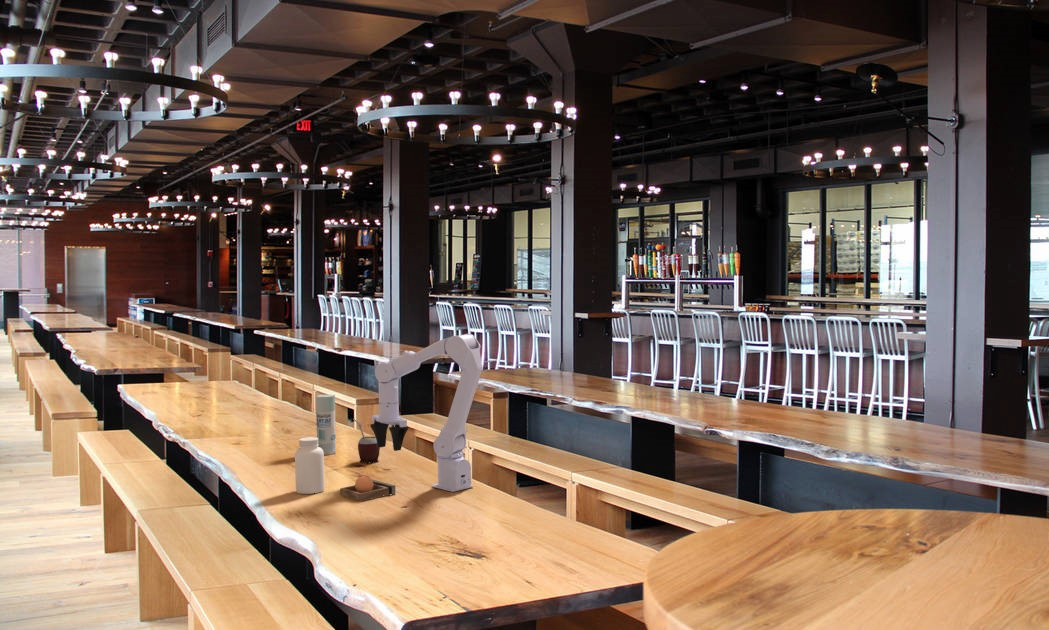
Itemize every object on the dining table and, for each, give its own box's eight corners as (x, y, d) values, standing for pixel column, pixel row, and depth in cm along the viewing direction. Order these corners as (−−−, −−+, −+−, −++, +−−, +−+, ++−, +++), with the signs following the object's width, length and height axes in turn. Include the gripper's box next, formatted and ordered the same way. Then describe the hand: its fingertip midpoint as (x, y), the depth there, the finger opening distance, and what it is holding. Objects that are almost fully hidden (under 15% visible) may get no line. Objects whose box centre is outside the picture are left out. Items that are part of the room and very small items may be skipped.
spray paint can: (339, 451, 302) (338, 394, 301) (331, 455, 296) (330, 397, 295) (321, 451, 303) (320, 394, 303) (313, 455, 297) (312, 396, 296)
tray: (389, 494, 241) (389, 487, 241) (360, 501, 234) (360, 494, 234) (368, 489, 247) (368, 482, 247) (340, 495, 241) (340, 488, 240)
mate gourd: (382, 459, 288) (381, 414, 287) (376, 465, 280) (375, 418, 279) (360, 459, 289) (359, 414, 288) (353, 464, 281) (352, 418, 280)
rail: (395, 494, 241) (395, 485, 241) (391, 495, 240) (391, 486, 240) (370, 487, 250) (369, 478, 250) (366, 488, 249) (366, 479, 249)
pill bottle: (289, 493, 244) (288, 440, 243) (306, 487, 251) (305, 435, 250) (314, 495, 241) (312, 442, 240) (330, 489, 248) (329, 436, 248)
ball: (377, 493, 241) (376, 475, 241) (362, 496, 237) (361, 478, 237) (366, 490, 244) (365, 473, 244) (351, 494, 241) (350, 476, 240)
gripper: (363, 401, 257) (363, 447, 258) (392, 406, 247) (393, 454, 248) (382, 399, 262) (383, 444, 263) (412, 403, 252) (413, 450, 253)
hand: (389, 448), depth 256 cm, fingers open, 7 cm apart
